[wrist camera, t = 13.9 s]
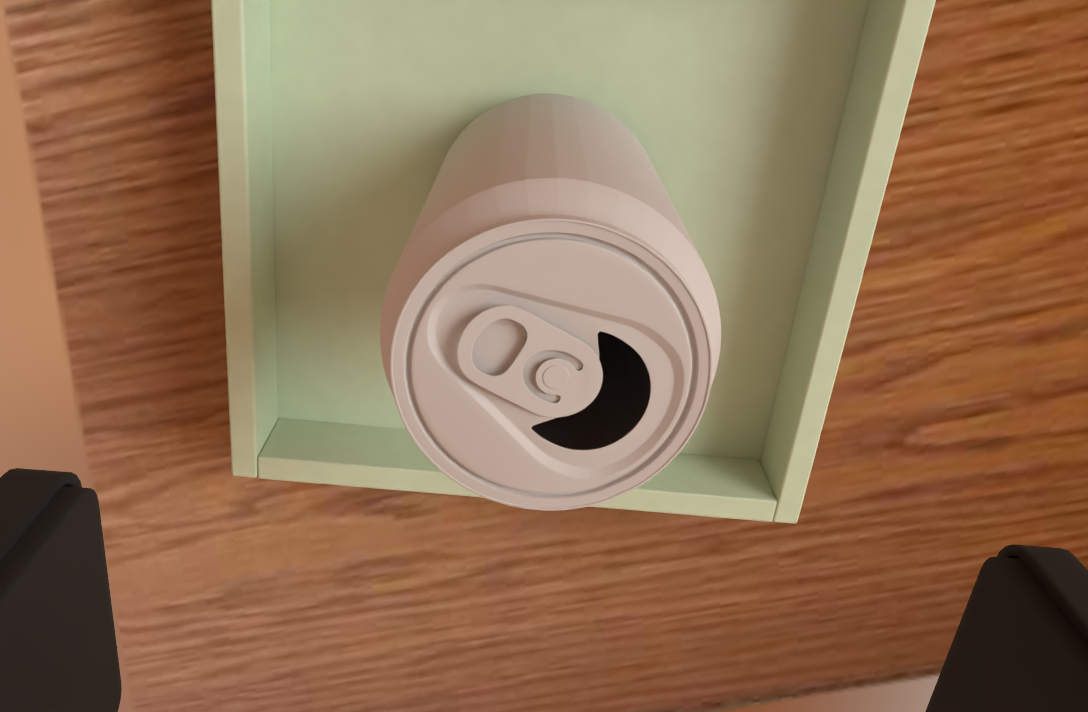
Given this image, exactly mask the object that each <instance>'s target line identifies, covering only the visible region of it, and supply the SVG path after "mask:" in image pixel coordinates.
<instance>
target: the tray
mask: <svg viewBox="0 0 1088 712" xmlns="http://www.w3.org/2000/svg"><path fill="white" fill-rule="evenodd" d="M935 1H936V0H211V12H212V35H213V57H214V80H215V102H216V125H217V148H218V170H219V193H220V215H221V238H222V261H223V283H224V306H225V328H226V351H227V373H228V396H229V419H230V441H231V464H232V475H233V476H239V477H251V478H256V477H259V478H260V479H271V480H282V481H294V482H306V483H318V484H330V485H342V486H353V487H365V488H377V489H389V490H401V491H413V492H424V493H436V494H448V495H460V496H472V497H482V496H479V495H477V494H475V493H473V492H471V491H469V490H467V489H466V488H464V487H462V486H460V485H459V484H457V483H456V482H454V481H453V480H451V479H450V478H449V477H447V476H446V475H445V474H444V473H442V472H441V471H440V470H439V469H438V468H437V467H435V466H434V465H433V464H432V463H431V462H430V461H429V460H428V459H427V457H426V456H425V455H424V454H423V453H422V452H421V451H420V449H419V448H418V446H417V445H416V444H415V442H414V441H413V439H412V438H411V436H410V435H409V433H408V431H407V429H406V427H405V425H404V423H403V421H402V419H401V417H400V414H399V412H398V409H397V406H396V403H395V399H394V396H393V394H392V391H391V389H390V386H389V384H388V381H387V378H386V374H385V371H384V367H383V361H382V356H381V346H380V322H381V312H382V307H383V303H384V299H385V295H386V291H387V288H388V285H389V282H390V280H391V277H392V275H393V273H394V271H395V269H396V266H397V264H398V262H399V260H400V257H401V255H402V253H403V251H404V248H405V246H406V244H407V242H408V240H409V237H410V235H411V233H412V231H413V228H414V226H415V224H416V222H417V219H418V217H419V215H420V213H421V210H422V208H423V206H424V204H425V202H426V199H427V197H428V195H429V193H430V190H431V188H432V186H433V184H434V181H435V179H436V177H437V175H438V173H439V170H440V168H441V166H442V164H443V161H444V159H445V157H446V155H447V153H448V151H449V149H450V147H451V146H452V144H453V143H454V142H455V140H456V139H457V137H458V136H459V135H460V134H461V132H462V131H463V130H464V129H465V128H466V127H467V126H468V125H469V124H470V123H471V122H472V121H474V120H475V119H476V118H477V117H479V116H480V115H482V114H483V113H484V112H486V111H488V110H489V109H491V108H493V107H495V106H497V105H499V104H501V103H503V102H506V101H508V100H511V99H514V98H518V97H522V96H527V95H534V94H561V95H567V96H572V97H576V98H580V99H583V100H586V101H588V102H591V103H593V104H595V105H597V106H600V107H602V108H603V109H605V110H607V111H609V112H610V113H612V114H613V115H614V116H615V117H617V118H618V119H619V120H621V121H622V122H623V123H624V124H625V125H626V126H627V127H628V128H629V129H630V130H631V131H632V133H633V134H634V135H635V136H636V137H637V139H638V140H639V141H640V143H641V145H642V146H643V148H644V150H645V151H646V153H647V155H648V157H649V159H650V161H651V163H652V165H653V167H654V169H655V170H656V172H657V174H658V176H659V178H660V180H661V182H662V184H663V186H664V188H665V190H666V192H667V194H668V196H669V198H670V200H671V202H672V203H673V205H674V207H675V209H676V211H677V213H678V215H679V217H680V219H681V221H682V223H683V225H684V227H685V229H686V231H687V233H688V235H689V236H690V238H691V240H692V242H693V244H694V246H695V248H696V250H697V252H698V254H699V256H700V258H701V260H702V262H703V264H704V266H705V268H706V270H707V272H708V274H709V277H710V279H711V282H712V285H713V288H714V291H715V294H716V297H717V301H718V306H719V312H720V319H721V346H720V355H719V361H718V365H717V370H716V374H715V377H714V380H713V383H712V386H711V388H710V392H709V397H708V401H707V404H706V407H705V410H704V412H703V415H702V417H701V419H700V422H699V424H698V426H697V427H696V429H695V431H694V433H693V434H692V436H691V437H690V439H689V440H688V442H687V443H686V445H685V446H684V448H683V449H682V450H681V451H680V453H679V454H678V455H677V456H676V457H675V458H674V459H673V460H672V461H671V462H670V463H669V464H668V465H667V466H666V467H665V468H664V469H663V470H662V471H660V472H659V473H658V474H656V475H655V476H654V477H653V478H651V479H650V480H648V481H647V482H646V483H644V484H642V485H641V486H639V487H637V488H635V489H633V490H631V491H629V492H627V493H625V494H622V495H620V496H618V497H616V498H613V499H611V500H608V501H606V502H603V503H600V504H597V505H592V506H590V507H602V508H614V509H626V510H637V511H649V512H661V513H673V514H685V515H697V516H708V517H720V518H732V519H744V520H756V521H768V522H771V521H772V520H773V521H774V522H782V523H794V524H795V523H797V521H798V517H799V513H800V510H801V506H802V502H803V498H804V495H805V491H806V487H807V483H808V479H809V476H810V472H811V468H812V464H813V461H814V457H815V453H816V449H817V446H818V442H819V438H820V434H821V430H822V427H823V423H824V419H825V415H826V412H827V408H828V404H829V400H830V397H831V393H832V389H833V385H834V381H835V378H836V374H837V370H838V366H839V363H840V359H841V355H842V351H843V348H844V344H845V340H846V336H847V332H848V329H849V325H850V321H851V317H852V314H853V310H854V306H855V302H856V299H857V295H858V291H859V287H860V283H861V280H862V276H863V272H864V268H865V265H866V261H867V257H868V253H869V250H870V246H871V242H872V238H873V234H874V231H875V227H876V223H877V219H878V216H879V212H880V208H881V204H882V201H883V197H884V193H885V189H886V186H887V182H888V178H889V174H890V170H891V167H892V163H893V159H894V155H895V152H896V148H897V144H898V140H899V137H900V133H901V129H902V125H903V121H904V118H905V114H906V110H907V106H908V103H909V99H910V95H911V91H912V88H913V84H914V80H915V76H916V72H917V69H918V65H919V61H920V57H921V54H922V50H923V46H924V42H925V39H926V35H927V31H928V27H929V23H930V20H931V16H932V12H933V8H934V5H935Z"/></svg>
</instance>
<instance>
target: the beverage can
mask: <svg viewBox="0 0 1088 712" xmlns="http://www.w3.org/2000/svg"><path fill="white" fill-rule="evenodd" d="M380 346H381V356H382V361H383V367H384V371H385V374H386V378H387V381H388V384H389V386H390V389H391V391H392V394H393V396H394V399H395V403H396V406H397V409H398V412H399V414H400V417H401V419H402V421H403V423H404V425H405V427H406V429H407V431H408V433H409V435H410V436H411V438H412V439H413V441H414V442H415V444H416V445H417V446H418V448H419V449H420V451H421V452H422V453H423V454H424V455H425V456H426V457H427V459H428V460H429V461H430V462H431V463H432V464H433V465H434V466H435V467H437V468H438V469H439V470H440V471H441V472H442V473H444V474H445V475H446V476H447V477H449V478H450V479H451V480H453V481H454V482H456V483H457V484H459V485H460V486H462V487H464V488H466V489H467V490H469V491H471V492H473V493H475V494H477V495H479V496H482V497H484V498H486V499H489V500H492V501H495V502H498V503H502V504H505V505H509V506H513V507H518V508H524V509H533V510H544V511H552V510H570V509H577V508H582V507H588V506H592V505H597V504H600V503H603V502H606V501H608V500H611V499H613V498H616V497H618V496H620V495H622V494H625V493H627V492H629V491H631V490H633V489H635V488H637V487H639V486H641V485H642V484H644V483H646V482H647V481H648V480H650V479H651V478H653V477H654V476H655V475H656V474H658V473H659V472H660V471H662V470H663V469H664V468H665V467H666V466H667V465H668V464H669V463H670V462H671V461H672V460H673V459H674V458H675V457H676V456H677V455H678V454H679V453H680V451H681V450H682V449H683V448H684V446H685V445H686V443H687V442H688V440H689V439H690V437H691V436H692V434H693V433H694V431H695V429H696V427H697V426H698V424H699V422H700V419H701V417H702V415H703V412H704V410H705V407H706V404H707V401H708V397H709V392H710V388H711V386H712V383H713V380H714V377H715V374H716V370H717V365H718V361H719V355H720V346H721V319H720V312H719V306H718V301H717V297H716V294H715V291H714V288H713V285H712V282H711V279H710V277H709V274H708V272H707V270H706V268H705V266H704V264H703V262H702V260H701V258H700V256H699V254H698V252H697V250H696V248H695V246H694V244H693V242H692V240H691V238H690V236H689V235H688V233H687V231H686V229H685V227H684V225H683V223H682V221H681V219H680V217H679V215H678V213H677V211H676V209H675V207H674V205H673V203H672V202H671V200H670V198H669V196H668V194H667V192H666V190H665V188H664V186H663V184H662V182H661V180H660V178H659V176H658V174H657V172H656V170H655V169H654V167H653V165H652V163H651V161H650V159H649V157H648V155H647V153H646V151H645V150H644V148H643V146H642V145H641V143H640V141H639V140H638V139H637V137H636V136H635V135H634V134H633V133H632V131H631V130H630V129H629V128H628V127H627V126H626V125H625V124H624V123H623V122H622V121H621V120H619V119H618V118H617V117H615V116H614V115H613V114H612V113H610V112H609V111H607V110H605V109H603V108H602V107H600V106H597V105H595V104H593V103H591V102H588V101H586V100H583V99H580V98H576V97H572V96H567V95H561V94H534V95H527V96H522V97H518V98H514V99H511V100H508V101H506V102H503V103H501V104H499V105H497V106H495V107H493V108H491V109H489V110H488V111H486V112H484V113H483V114H482V115H480V116H479V117H477V118H476V119H475V120H474V121H472V122H471V123H470V124H469V125H468V126H467V127H466V128H465V129H464V130H463V131H462V132H461V134H460V135H459V136H458V137H457V139H456V140H455V142H454V143H453V144H452V146H451V147H450V149H449V151H448V153H447V155H446V157H445V159H444V161H443V164H442V166H441V168H440V170H439V173H438V175H437V177H436V179H435V181H434V184H433V186H432V188H431V190H430V193H429V195H428V197H427V199H426V202H425V204H424V206H423V208H422V210H421V213H420V215H419V217H418V219H417V222H416V224H415V226H414V228H413V231H412V233H411V235H410V237H409V240H408V242H407V244H406V246H405V248H404V251H403V253H402V255H401V257H400V260H399V262H398V264H397V266H396V269H395V271H394V273H393V275H392V277H391V280H390V282H389V285H388V288H387V291H386V295H385V299H384V303H383V307H382V312H381V322H380Z"/></svg>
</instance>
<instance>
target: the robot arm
mask: <svg viewBox="0 0 1088 712" xmlns="http://www.w3.org/2000/svg"><path fill="white" fill-rule="evenodd" d="M120 699H121V679H120V670H119V662H118V654H117V646H116V638H115V630H114V622H113V614H112V606H111V598H110V590H109V582H108V574H107V566H106V558H105V550H104V542H103V534H102V526H101V518H100V510H99V502H98V498H97V494H96V493H95V491H94V490H92V489H91V488H82V486H81V482H80V480H79V478H78V477H77V475H75V474H73V473H71V472H57V471H45V470H31V469H19V468H16V469H11V470H9V471H8V472H6V473H5V474H4V475H3V476H2V477H1V478H0V712H118V708H119V704H120ZM926 712H1088V571H1087V569H1086V568H1085V567H1084V566H1083V565H1082V564H1081V563H1080V561H1079V560H1078V559H1077V558H1076V557H1075V556H1074V555H1073V554H1072V553H1070V552H1069V551H1068V550H1064V549H1061V548H1050V547H1037V546H1024V545H1009V546H1006V547H1004V548H1003V549H1002V550H1001V551H1000V552H999V554H998V556H997V557H991V558H989V559H988V560H986V561H985V562H984V564H983V566H982V568H981V570H980V573H979V575H978V578H977V581H976V583H975V586H974V588H973V591H972V594H971V596H970V599H969V601H968V604H967V606H966V609H965V612H964V614H963V617H962V619H961V622H960V624H959V627H958V630H957V632H956V635H955V637H954V640H953V642H952V645H951V648H950V650H949V653H948V655H947V658H946V660H945V663H944V666H943V668H942V671H941V673H940V676H939V679H938V681H937V684H936V686H935V689H934V691H933V694H932V697H931V699H930V702H929V704H928V707H927V710H926Z"/></svg>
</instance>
